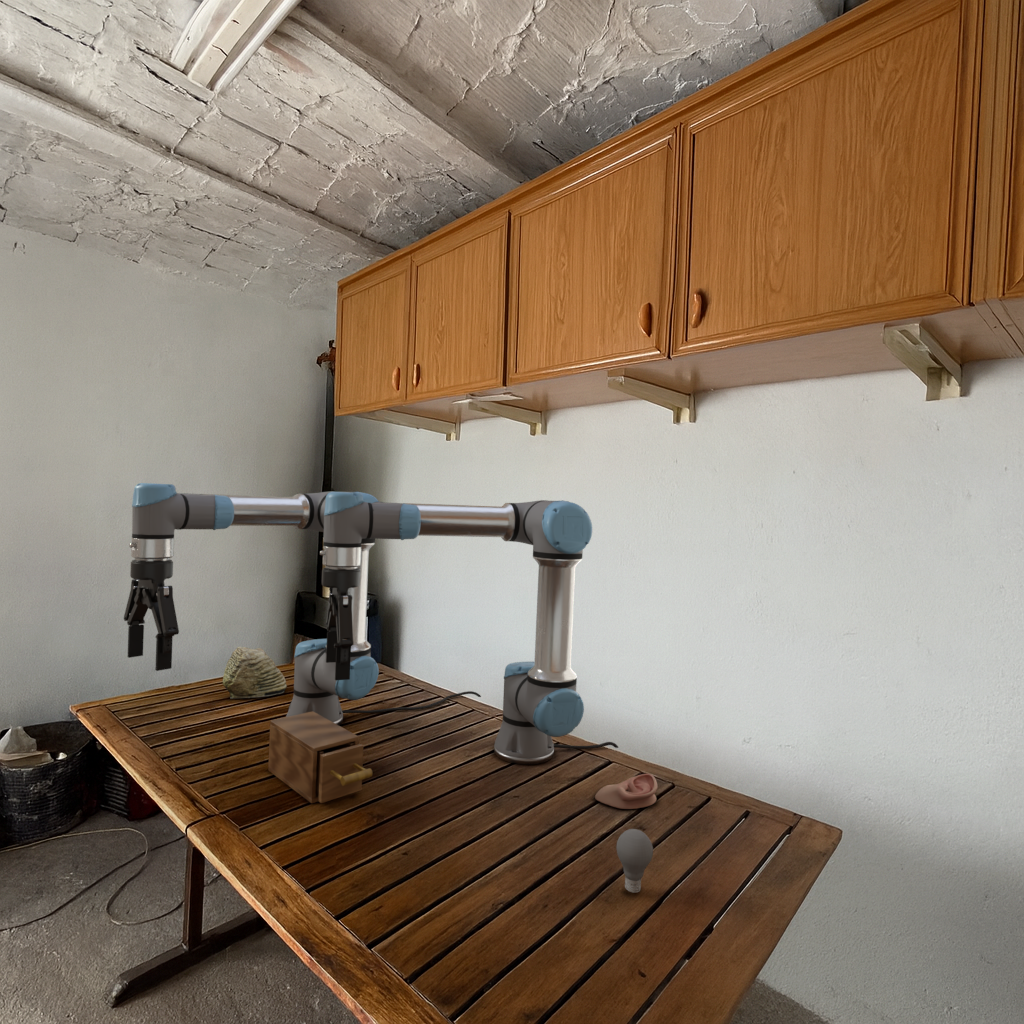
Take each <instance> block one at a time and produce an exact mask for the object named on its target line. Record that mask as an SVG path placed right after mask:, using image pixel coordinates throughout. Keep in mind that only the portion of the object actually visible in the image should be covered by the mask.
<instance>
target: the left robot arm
mask: <svg viewBox="0 0 1024 1024" xmlns="http://www.w3.org/2000/svg"><path fill="white" fill-rule="evenodd" d="M330 492H339V491H337V490H336V491H335V490H333V491H332V490H331V491H321V492H311V493H296V494H294V495H293V496H276V495H275V496H274V495H273V496H271V495H245V494H244V495H243V494H218V493H217V494H216V493H215V494H214V493H213V494H211V493H189V492H187V493H185V492H184V493H183V492H178V491H177V488H176V486H175V485H174V484H172V483H152V482H149V483H148V482H141V483H140V482H139V483H137V484H136V485H135V486H134V488H133V494H132V502H131V508H132V509H131V510H132V511H131V512H132V513H131V514H132V515H131V518H132V519H131V520H132V521H131V543H129V544H128V547H129V548H130V549H131V554H130V556H131V558H133V559H132V560H131V561H130V573H129V574H130V578H131V581H130V590H129V591H130V592H129V595H128V599H127V603H126V607H125V610H124V615H123V621H124V622H126V624H127V626H128V629H127V630H128V631H127V658H137V657H143V656H144V639H145V638H144V635H145V633H144V632H145V625H144V624H146V621H145V617H146V615H147V612H148V611H149V610H151V613H152V616H153V620H154V623H155V626H156V630H157V634H156V635H155V637H154V638H155V639H156V641H155V669H154V670H155V671H156V672H159V671H164V670H171V669H172V664H173V663H172V661H173V637H175V636H176V635H179V632H180V630H179V629H180V628H179V625H178V619H177V613H176V607H175V601H174V591H173V589H174V588H173V585H165V580H167V579H171V578H172V577H173V575H174V561H173V560H172V558H173V557H174V555H175V530H177V531H178V530H179V531H181V530H213V531H216V530H225V529H229V528H230V526H231V527H234V526H237V527H238V526H239V527H243V526H245V527H247V526H249V527H250V526H251V527H252V526H257V527H259V526H261V527H262V526H268V527H269V526H276V527H277V526H281V527H284V526H285V527H288V526H289V527H290V526H291V527H293V528H294V529H296V530H308V531H309V530H310V531H316V532H319V533H324V512H325V502H326V496H327V494H328V493H330ZM349 492H350V493H361V494H362V495H363V500H364V502H367V503H374V502H380V501H379V500H378V498H377V497H375V495H373V494H370V493H367V492H363V491H362V492H361V491H349ZM374 545H376V539H374V538H369V539H365V538H362V540H361V565H360V566H358V568H359V570H360V584H359V586H357V587H354V588H349V589H348V592H349V595H352V625H353V641H354V644H353V646H351V659H350V679H349V680H335V666H336V662H330V663H326V648H327V638H317V639H308V640H304V641H300V642H299V643H297V645H296V646H295V650H294V655H293V657H294V672H293V673H294V674H293V695H292V696H293V697H292V699H291V702H290V703H289V705H288V711H287V713H286V715H285V717H289V716H294V715H298V714H303V713H308V712H312V711H313V712H315V713H317V714H319V715H321V716H322V717H324V718H326V719H328V720H330V721H332V722H333V723H335V724H337V725H339V726H340V725H342V723H343V722H344V714H376V713H386V712H394V711H417V710H418V711H419V710H424V709H425V710H426V709H430V708H432V707H434V706H437V705H439V704H442V703H444V702H445V701H447V700H449V699H451V698H455V697H460V696H464V695H473V696H474V695H475V696H476V697H478V698H481V697H482V695H481V694H479V693H478V692H476V691H473V690H472V691H471V690H468V691H463V692H458V693H455V694H454V693H453V694H449V695H447V696H445V697H444V698H442V699H440V700H438V701H436V702H433V703H430V704H427V705H422V706H412V707H410V706H408V707H407V706H405V707H403V706H402V707H389V708H380V709H371V710H369V709H368V710H366V709H365V710H364V709H362V710H361V709H346V710H345V709H342V706H341V702H340V699H339V698H341V699H342V700H343V699H344V700H348V701H349V700H350V701H357V700H360V699H362V698H364V697H365V696H367V695H368V694H370V692H371V690H372V689H374V687H375V685H376V683H377V682H378V678H379V674H380V672H379V671H380V670H379V669H380V668H379V665H378V662H376V660H375V659H374V657H372V656H371V652H372V649H371V648H372V644H371V643H370V642H369V641H368V640H367V639H366V631H367V607H368V606H367V605H368V604H367V602H368V582H369V581H368V579H369V555H370V550H371V548H372V547H374ZM343 640H347V639H343Z"/></svg>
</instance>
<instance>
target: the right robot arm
mask: <svg viewBox="0 0 1024 1024" xmlns="http://www.w3.org/2000/svg"><path fill="white" fill-rule="evenodd" d="M329 492H330V491H329ZM350 492H351V491H338V492H330V493H328V494H327V496H326V502H325V512H324V532H323V539H322V540H323V543H322V544H323V545H322V546H323V547H322V548H323V550H320V551H319V555H320V556H322V566H325V567H323V568H322V569H321V586H323V587H325V588H329V589H328V590H329V593H328V603H327V613H326V621H325V626H326V639H327V648H326V663H330V662H336V666H335V680H349V679H350V659H351V646H353V644H354V641H353V625H352V595H349V592H348V589H349V588H354V587H357V586H359V584H360V570H359V568H358V566H360V565H361V540H362V538H365V539H369V538H374V539H375V540H378V539H379V540H400V541H405V540H415V539H417V537H418V536H420V537H421V536H422V537H423V536H424V537H464V538H465V537H467V538H468V537H469V538H480V537H481V538H501V539H502V540H503V541H504V542H513V543H522V544H525V545H530V546H532V559H534V561H536V563H537V564H538V571H537V572H538V573H537V574H538V575H537V596H536V618H535V619H536V621H535V640H534V641H535V642H534V643H535V644H534V661H516V662H511V663H508V664H507V665H506V666H505V668H504V676H503V701H502V703H503V704H502V721H501V725H500V727H499V730H498V733H497V735H496V738H495V741H494V745H493V752H494V754H495V756H496V757H497V758H499V759H500V760H502V761H505V762H508V763H510V764H511V763H512V764H516V765H538V764H543V763H547V762H549V761H551V760H552V759H553V757H554V755H555V748H559V749H570V750H591V749H599V748H603V747H607V746H612V747H614V748H615V749H618V748H619V746H618V745H617V744H616V743H615V742H613V741H605V742H602V743H598V744H591V745H571V744H570V745H569V744H559V743H554V740H553V738H561V737H565V736H567V735H569V734H570V733H572V732H574V730H575V728H577V727H578V726H579V725H580V723H581V721H582V719H583V717H584V712H585V704H584V701H583V698H582V697H581V695H580V694H579V693H578V692H577V683H578V681H577V680H578V675H577V673H576V672H575V671H574V670H573V669H572V650H573V649H572V646H573V628H574V627H573V626H574V625H573V624H574V605H575V604H574V603H575V583H576V582H575V581H576V567H577V566H578V564H579V563H581V562H582V561H583V552H584V551H583V550H585V548H586V547H587V545H588V544H589V543H590V542H591V540H592V535H593V523H592V520H591V518H590V517H591V516H590V515H589V513H588V512H587V511H586V510H585V509H584V507H582V506H581V505H580V504H577V503H576V502H571V501H569V500H547V499H545V500H543V499H541V500H534V501H533V500H532V501H525V502H505V503H504V504H503V505H502V506H496V505H495V506H493V505H469V504H468V505H467V504H465V505H464V504H437V503H411V502H409V503H408V502H403V503H401V502H384V501H379V502H374V503H367V502H364V500H363V495H362V494H361V493H350ZM343 639H347V640H343Z"/></svg>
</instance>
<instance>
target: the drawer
mask: <svg viewBox="0 0 1024 1024" xmlns="http://www.w3.org/2000/svg"><path fill="white" fill-rule="evenodd" d="M363 764H364V744H362V743H359V744H358V745H354V743H352V742H350V743H346V744H342V745H339V746H335V747H331V748H328V749H324V750H320V751H317V770H316V794H317V795H318V796H319V801H318V802H319V804H324V803H326V802H330V801H332V800H336V799H339V798H342V797H345V796H348V795H351V794H354V793H356V792H360V791H362V790H363V789H362V788H363V780H366V779H369V778H372V777H373V770H372V768H370V767H369V768H364V767H363Z"/></svg>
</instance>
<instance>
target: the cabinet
mask: <svg viewBox="0 0 1024 1024" xmlns="http://www.w3.org/2000/svg"><path fill="white" fill-rule="evenodd" d="M359 739H360V736H359V735H358V734H355V733H353V732H351V731H350V730H348V729H346V728H344V727H342V726H340V725H337V724H335V723H333V722H332V721H330V720H328V719H326V718H324V717H322V716H321V715H319V714H317V713H315V712H313V711H312V712H308V713H303V714H298V715H294V716H289V717H286V716H285V717H281V718H277V719H276V718H275V719H271V720H269V743H268V768H267V769H268V771H269V773H271V774H272V775H274V776H275V777H276V778H278V780H280V781H281V782H282V783H284V784H285V785H286V786H288V787H289V788H290V789H292V790H293V791H295V792H296V793H297V794H299V796H301V797H303V799H305V801H307V802H308V803H310V804H315V803H317V802H319V796H318V795H317V794H316V770H317V751H320V750H324V749H328V748H331V747H335V746H339V745H342V744H346V743H350V742H352V743H354V745H358V744H360V742H359V741H360V740H359Z"/></svg>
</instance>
